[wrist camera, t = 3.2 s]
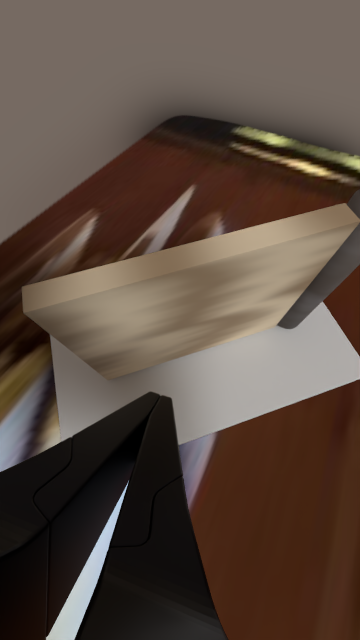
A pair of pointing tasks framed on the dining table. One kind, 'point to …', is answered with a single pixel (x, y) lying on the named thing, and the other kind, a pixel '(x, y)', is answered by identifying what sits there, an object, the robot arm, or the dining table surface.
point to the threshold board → (215, 378)
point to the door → (199, 291)
